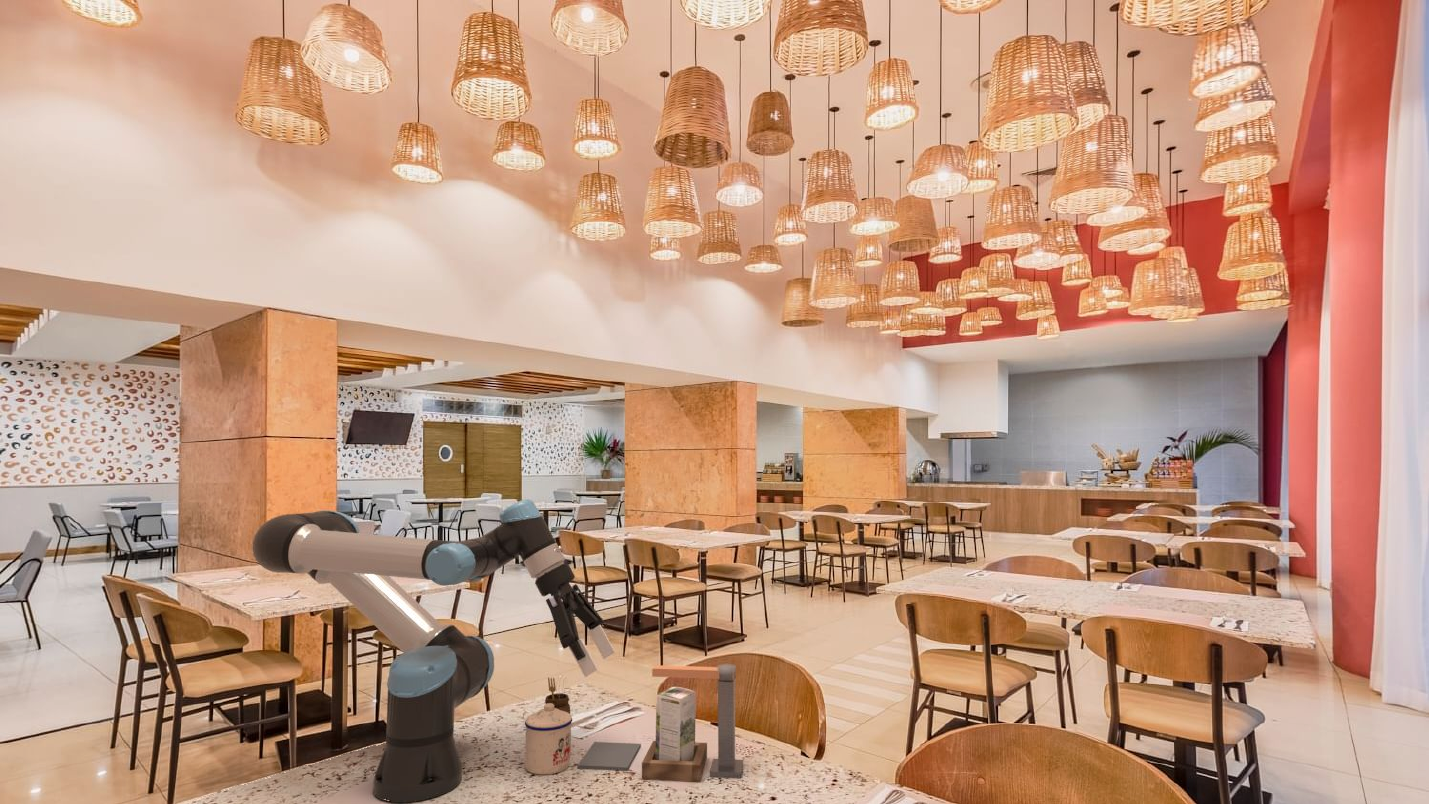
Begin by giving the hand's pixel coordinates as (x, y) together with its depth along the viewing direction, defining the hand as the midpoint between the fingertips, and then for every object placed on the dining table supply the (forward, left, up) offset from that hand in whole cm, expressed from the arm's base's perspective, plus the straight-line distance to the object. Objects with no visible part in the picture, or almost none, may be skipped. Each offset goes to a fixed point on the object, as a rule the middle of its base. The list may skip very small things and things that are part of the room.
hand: (601, 664), depth 142 cm
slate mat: (+1, +3, -19) cm, 19 cm away
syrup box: (+15, -1, -19) cm, 25 cm away
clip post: (+25, -1, -19) cm, 32 cm away
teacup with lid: (-10, -1, -19) cm, 22 cm away
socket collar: (+15, -1, -19) cm, 24 cm away
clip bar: (+19, -1, -1) cm, 19 cm away
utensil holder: (-15, +17, -19) cm, 30 cm away
